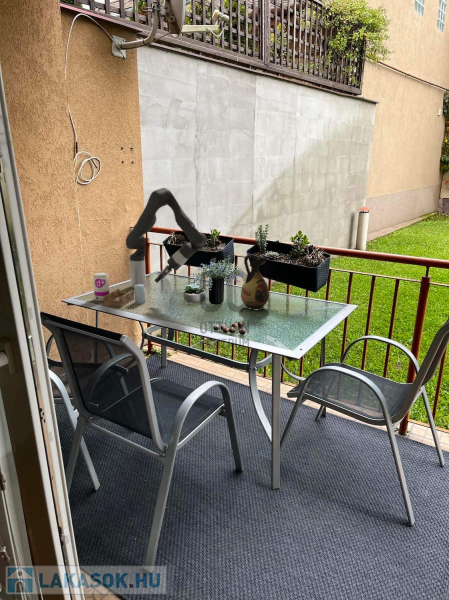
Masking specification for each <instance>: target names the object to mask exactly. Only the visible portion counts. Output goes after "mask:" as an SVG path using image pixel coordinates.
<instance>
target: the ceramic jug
mask: <svg viewBox="0 0 449 600" xmlns="http://www.w3.org/2000/svg"><path fill="white" fill-rule="evenodd" d="M250 259H253V260H252V261H251V263H249V264H248V262H249V261H248V260H250ZM265 263H267V260H265V258H264V257H262V256H260V255H259V256H258V257H256V255H255V254H252V253H248V254H246V255H245V257H244V260H243V264H244V267H245V271H246V278H245V280H244V282H243V284H242V286H241V290H240V299H241V301H242V303H243V304H244V305H245V308H246V307H247V308H251V309H261V308H263V309H264V307H265V305H266V304H267V302H268V301H269V298H270V291H269V290H270V289H269V287H268V284H267V281H266V280H265V278H264V276H263V275H262V274H261V272H260V269H259V267H260V266H262V265H265ZM249 267H252V269H251V270H250V268H249Z"/></svg>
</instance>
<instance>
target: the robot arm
mask: <svg viewBox="0 0 449 600" xmlns="http://www.w3.org/2000/svg"><path fill="white" fill-rule="evenodd" d="M164 206H168V207H169V208H170V209H171V210H172V211H173V216H174V219H175V223H176V225H177V226H178V228H180V230H181V231H182V232H183V233H184V234H185V236H186V237H187V239H188V240H189V242H187V243H184V244H183V245H182V246H181V247H180V248H179V249H178V250H177V251H175V253H173V254H172V255H171V256H170V257H169V258H168V259H167V260H166V263H167V265H166V266H164V267H163V269H162V270H161V271H160V272H161V273H159V274H158V276H157V277H155V279H154V282H155V283H156V284H157V283H159V282H160V281H161V280H162V279H164V277H167V276H168V275H169V274H171V272H172V271H178V270H179V269H180V268H181V267H182V266H183V265H184V264H185V263H186V262H187V261H188V260H189V259H190V258H191V257H192V256H193V255H194V254H195V253H196V252H198V251H199V250H201V249H202V248H203V247H204V246H205V245H206V244H207V241H208V238H207V236H206V234H205V233H202V232H200V231H199V230H198V229H197V228H196V225H195V223H194V222H193V220H191V219H190V218H189V216H188V215H187V214H186V212H184V210H183V209H182V206H181V205H180V204H179V202H178V201H177V199H176V198H175V195H174V194H173V193H172V191H171V190H170V189H169V188H167V187H162V188H159V189H156V190H153V191H152V192H151V193H150V195H149V198H148V200H147V203H146V205H145V208H143V211H142V212H141V214H140V216H139V218H138V219H137V221H136V224H135V225H134V226H133V228H132V229H131V231H130V232H129V233H128V234H127V236H126V239H125V246H126V248H128V250H135V251H134V252H133V253H131V254H130V255H129V267H130V268H129V271H130V272H129V273H130V287H131V288H134V285H136V284H144V286H145V287H146V286H147V279H146V277H147V276H146V238H145V235H146V234H147V233H149V232H150V231H151V230H152V229H153V228H154V225H155V224H156V223H157V215H156V214H157V212H158V211H159V210H160V209H161V208H163V207H164Z"/></svg>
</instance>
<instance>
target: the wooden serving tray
mask: <svg viewBox="0 0 449 600" xmlns="http://www.w3.org/2000/svg"><path fill="white" fill-rule="evenodd" d="M133 300H135V291H134V290H133V289H131V290H130V291H128V292H122V291H121V292H120V288H117V289H115V290H113V291H111V292H109V294H108V295H106V296H104V301H103V302H104V306H105V307H117V308H123V307H124V306H125V305H127V304H129V303H130V302H133Z"/></svg>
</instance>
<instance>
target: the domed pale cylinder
mask: <svg viewBox="0 0 449 600" xmlns="http://www.w3.org/2000/svg"><path fill="white" fill-rule="evenodd" d="M145 289H146V288H145V286H144V284H136V285H134V304H136V305H142V304H145V303H146V294H145V293H146V291H145Z"/></svg>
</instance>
